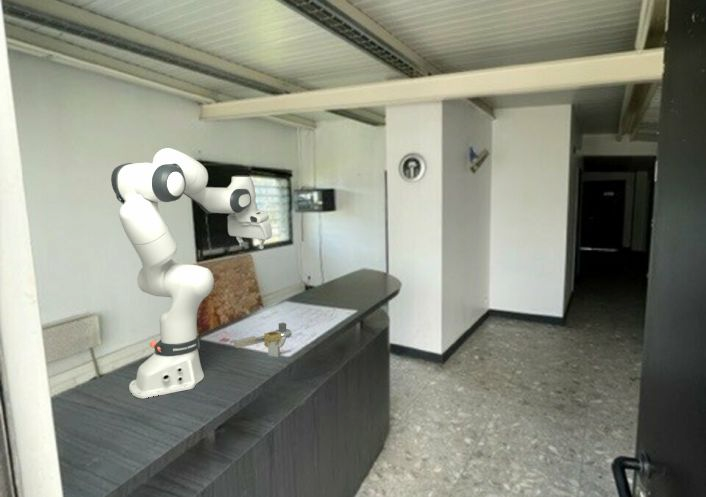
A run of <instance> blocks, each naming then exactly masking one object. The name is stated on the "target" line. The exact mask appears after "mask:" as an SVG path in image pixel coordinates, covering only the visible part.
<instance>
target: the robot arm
mask: <svg viewBox="0 0 706 497" xmlns="http://www.w3.org/2000/svg"><path fill="white" fill-rule="evenodd" d="M110 178H111V179H110V181H111V187H112V189H113V191H114V194H115V197H116V199H117V201H118V202H120V203H121V204H122V205H121V206H120V207H119V210H118V217H119V220H120V223H121V225H122V228H123V230H124V232H125V234H126V237H127V238H128V240H129V242H130V244H131V245H132V247H133V248H134V250H135V252H136V254H137V255H138V258H139V259H140V261H141V265H142V268H141V269H140V270H139V272H138V275H137V285H138V288H139V289H140V291H142V292H143V293H145V294H148V295H151V296H155V297H161V298H163V297H164V298H171V306H170V308H168V309H167V310H165V311H164V312H163V313H162V314H161V315H160V316H159V317H160V318H159V330H160V331H159V332H160V334H159V336H160V339H159V341H158V342H157V341H156V340H151V341H150V343H149V345H150V347H151V348H152V349H154V353H153V354H151V356H149V357H148V358H147V359H146V360H145V361H144V362H142V364H141V365H140V366H138V368H137V373H136V379H133V380H132V381H130V383H129V387H128V388H129V389H128V390H129V392H130V394H131V393H132V394H131V395H132V396H134V397H136V398H138V399H147V398H148V397H149V398H153V396H154V397H157V396H158V395H159V396H164V395H168V394H173V393H178V392H182V391H186V390H187V391H188V390H192V389H194V388H195V386H196V385H197V384H198V383H199V382H201V381H202V380H203V379H204V378H205V374H204V371H203V369H202V365H201V360H200V355H199V352H200V339H199V335H198V334H197V329H198V328H197V327H198V326H197V318H198V317H197V315H198V312H199V311H198V310H199V308H200V305H201V303H202V302H203V301H204V299H205V298H206V297H208V296H209V295H210V294H211V293H212V291H213V289H214V286H215V279H214V274H213V272H212V270H211V269H209V268H207V267H204V266H201V265H197V264H189V263H178V262H176V261H174V260H173V258H174V257H175V255H176V254H177V250H178V243H177V242H176V239H175V237H174V236H173V234H172V232H171V229H170V228H169V227H168V224H167V222H166V221H165V219H164V217H163V216H162V215H161V213H160V210H159V209H160V208H159V202H163V203H171V202H175V201H177V200H180V198H182V196H183V195H185V196H186V197H188V198H189V199H190V200H192V201H193V202H195V203H196V204H197V205H198V206H199V208H200V209H201V210H202V211H203V212H204V213H206V214H217V213H218V214H228V216H227V233H228V235H229V236H230V237H236V241H238V243H239V247H241V248H243V247H246V241H244V240H243V238H245V239H254V240H258V242H259V244H257V249H258V250H264V243H265V241H267V240H269V239H271V238H272V237H273V230H272V225H271V221H270V220H269V219H270V214H269V213H267V212H265V211H262V210H261V209H259V208H258V205H257V202H256V195H257V194H256V189H255V185H254V181H253V178H252V176H249V175H242V174H241V175H240V174H239V175H238V174H237V175H232V176H231V182H230V184H229V185H228V186H227V187H213V186H207V185H208V181H209V173H208V170H207V168H206V167H205V166H204V165H203V164H202V163H201V162H199V161H198V160H196V159H195V158H193V157H191V155H188V154H186V153H184V152H182V151H179V150H177V149H174V148H170V147H165V148H162V149H160V150H158V151H157V152H156V153H155V154H154V156H153V157H152V162H136V163H135V162H134V163H132V162H127V163H122V164H120V165H118V166H116V167H115V168H114V169H113V170H112V172H111V177H110ZM149 398H148V399H149Z"/></svg>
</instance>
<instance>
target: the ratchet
mask: <svg viewBox="0 0 706 497" xmlns="http://www.w3.org/2000/svg"><path fill="white" fill-rule="evenodd" d="M274 331H276V332H278V333H280V334H281V338H282V337H283V336H285V337H288V338H290V337H291V336H292V334H291V333H292V330H291V329H290V328H289V329H288V328H287V323H286V322H279V323H278V329H275V330H274ZM290 335H291V336H290ZM289 336H290V337H289ZM263 342H264V335H260V336H255V335H254V336H248V337H244V338H239V339H236V340H233V346H234V347H235V348H237V349H239V348H243V347H247V346H252V345H255V344H256V345H257V344H259V343H263ZM264 343H265V342H264Z"/></svg>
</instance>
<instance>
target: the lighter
mask: <svg viewBox="0 0 706 497" xmlns="http://www.w3.org/2000/svg"><path fill="white" fill-rule="evenodd" d="M286 340H287V337H285V336H283V337H282V338H281V340H280V342H279V345H278V344H277V342H271V343H270V344H269V345H268V347H267V352H268V353H267V354H268V357H273V356H274V357H275V358H279V357H280V356H281V355H280V354H281V350H280V349H281V348H283V346H284V344H285V343H286ZM279 355H280V356H279ZM278 356H279V357H278Z"/></svg>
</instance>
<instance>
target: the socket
mask: <svg viewBox="0 0 706 497" xmlns="http://www.w3.org/2000/svg"><path fill="white" fill-rule="evenodd" d="M263 336H264V346H265V347H267V348H268V345H269V344H270V343H271V342H277V344H278V345H279V342H280V340H281V334H280V333H278V332H276V331H275V330H273V331H269V332H264V333H263Z"/></svg>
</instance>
